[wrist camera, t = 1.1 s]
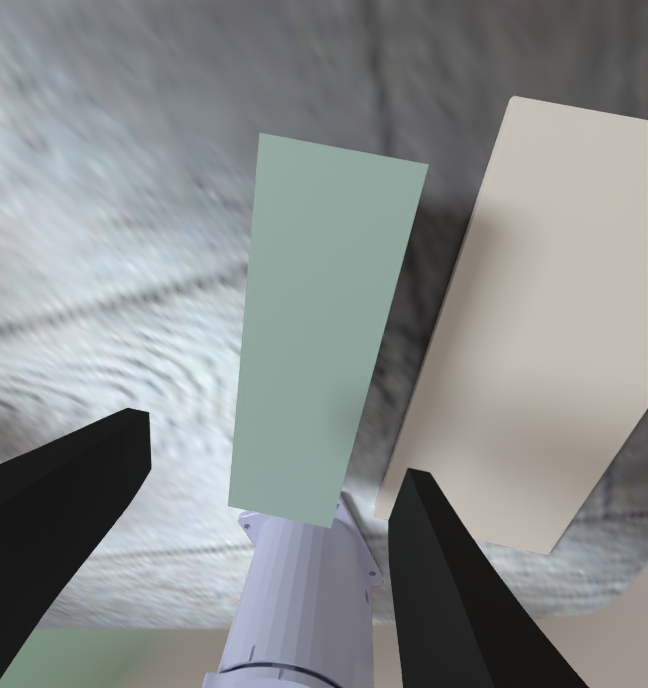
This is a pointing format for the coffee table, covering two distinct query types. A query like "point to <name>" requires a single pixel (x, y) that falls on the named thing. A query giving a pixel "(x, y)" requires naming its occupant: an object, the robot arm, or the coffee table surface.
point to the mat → (537, 330)
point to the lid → (314, 318)
